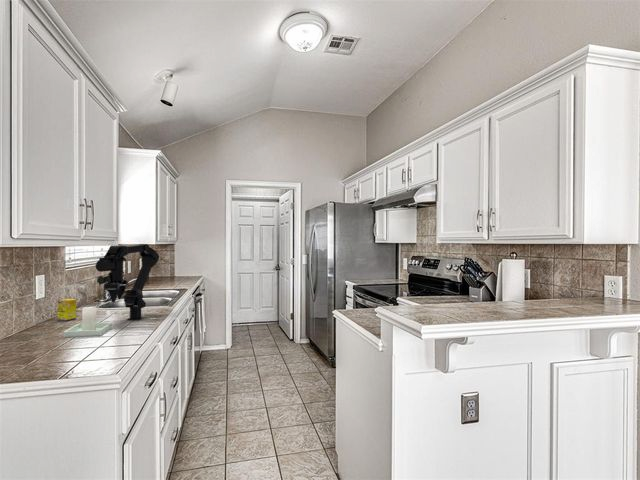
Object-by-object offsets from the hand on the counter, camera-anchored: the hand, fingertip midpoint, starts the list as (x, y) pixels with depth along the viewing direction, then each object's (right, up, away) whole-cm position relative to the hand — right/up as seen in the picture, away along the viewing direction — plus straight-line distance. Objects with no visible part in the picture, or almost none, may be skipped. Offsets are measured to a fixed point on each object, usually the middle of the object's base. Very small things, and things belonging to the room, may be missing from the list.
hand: (116, 300), depth 183 cm
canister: (-4, -11, -16) cm, 20 cm away
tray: (-4, -12, -16) cm, 20 cm away
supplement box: (-31, -12, +7) cm, 34 cm away
